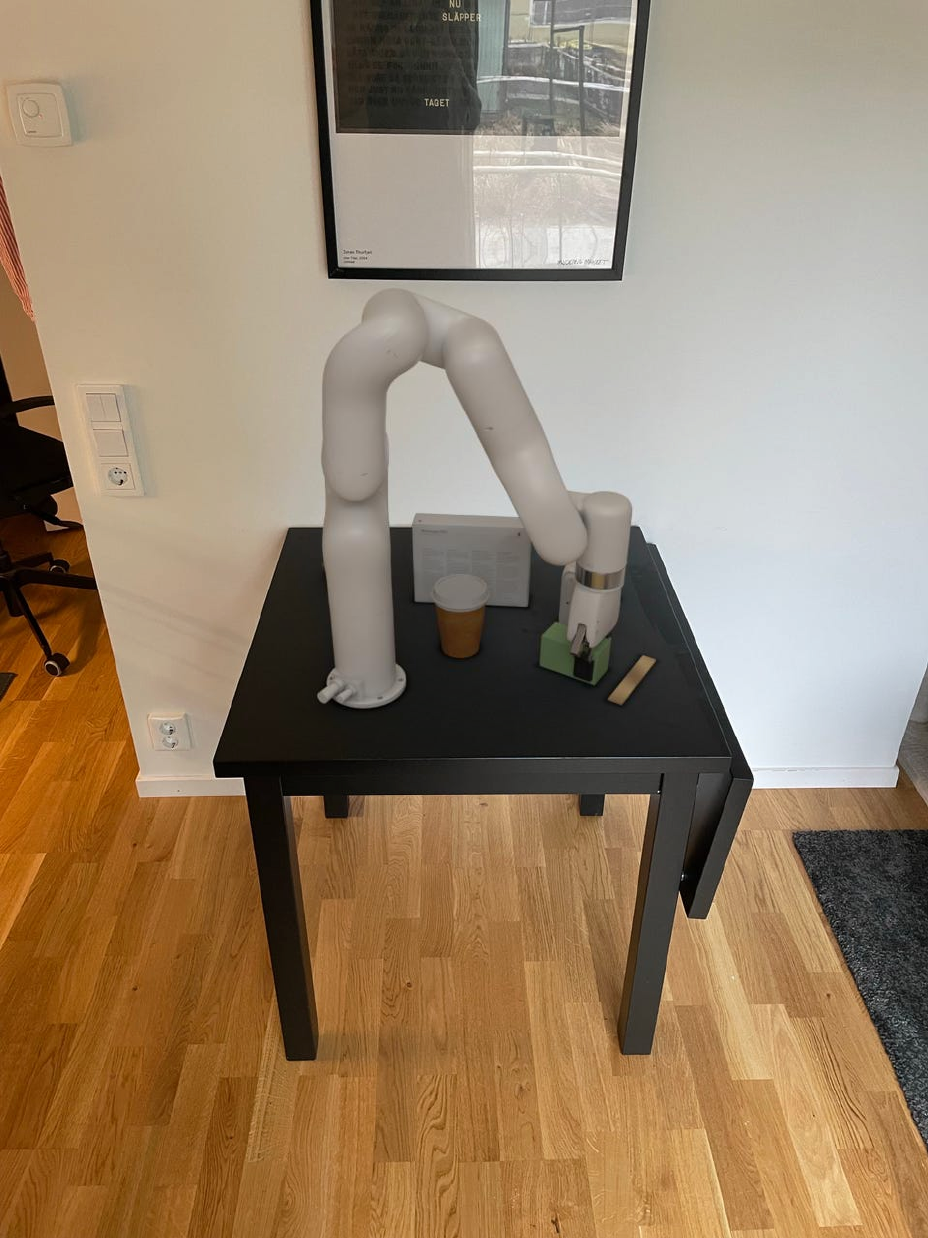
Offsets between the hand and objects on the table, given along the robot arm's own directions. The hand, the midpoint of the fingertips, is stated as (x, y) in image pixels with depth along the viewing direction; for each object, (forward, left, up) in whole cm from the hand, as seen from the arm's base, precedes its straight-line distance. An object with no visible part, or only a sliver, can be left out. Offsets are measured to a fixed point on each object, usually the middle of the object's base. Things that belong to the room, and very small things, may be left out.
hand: (590, 668), depth 147 cm
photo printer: (+15, +10, -1) cm, 18 cm away
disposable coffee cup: (-5, +22, -1) cm, 22 cm away
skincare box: (+10, +29, -1) cm, 31 cm away
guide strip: (+2, -7, -1) cm, 7 cm away
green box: (0, +3, -1) cm, 3 cm away
